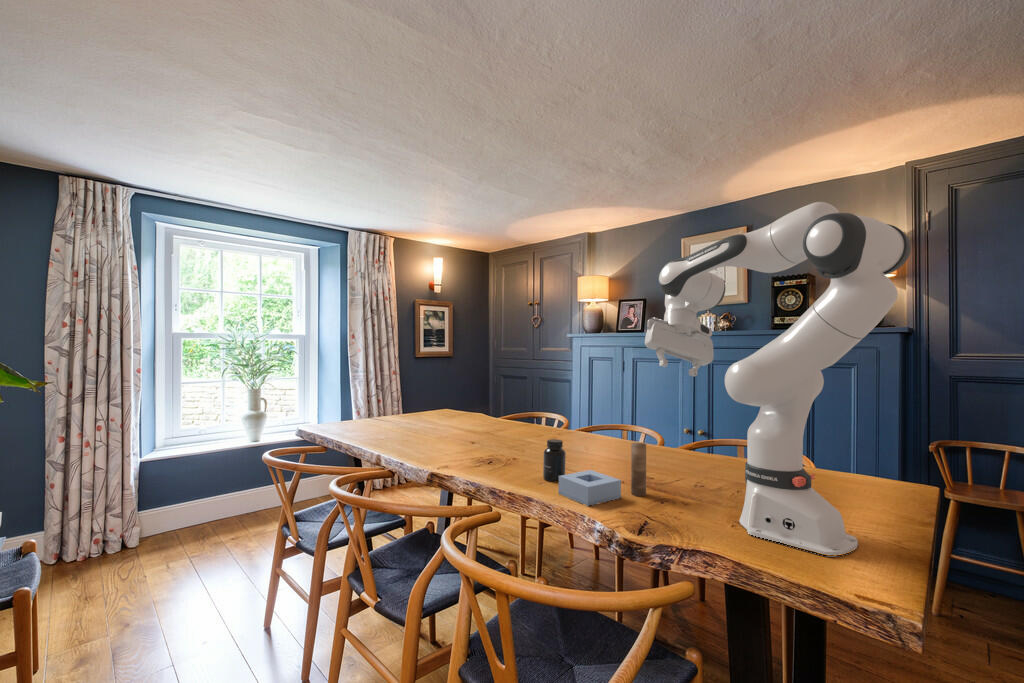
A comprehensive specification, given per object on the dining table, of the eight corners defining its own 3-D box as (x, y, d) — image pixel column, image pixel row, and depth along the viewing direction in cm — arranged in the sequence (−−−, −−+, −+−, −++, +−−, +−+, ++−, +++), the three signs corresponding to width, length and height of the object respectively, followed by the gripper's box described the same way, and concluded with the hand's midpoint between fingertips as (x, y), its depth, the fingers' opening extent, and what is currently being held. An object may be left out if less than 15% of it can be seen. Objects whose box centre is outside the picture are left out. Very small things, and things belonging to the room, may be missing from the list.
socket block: (620, 498, 125) (620, 480, 125) (587, 506, 118) (588, 487, 118) (590, 487, 135) (590, 469, 135) (558, 493, 128) (558, 475, 129)
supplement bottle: (541, 481, 140) (541, 442, 141) (545, 475, 147) (545, 437, 147) (563, 483, 139) (564, 443, 139) (566, 477, 145) (566, 438, 146)
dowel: (649, 494, 128) (649, 444, 128) (639, 497, 126) (639, 446, 126) (637, 491, 132) (638, 442, 132) (628, 493, 129) (628, 443, 130)
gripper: (654, 310, 126) (652, 356, 121) (717, 332, 131) (717, 377, 125) (641, 319, 132) (638, 363, 126) (702, 340, 136) (701, 383, 131)
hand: (678, 370), depth 126 cm, fingers open, 8 cm apart
